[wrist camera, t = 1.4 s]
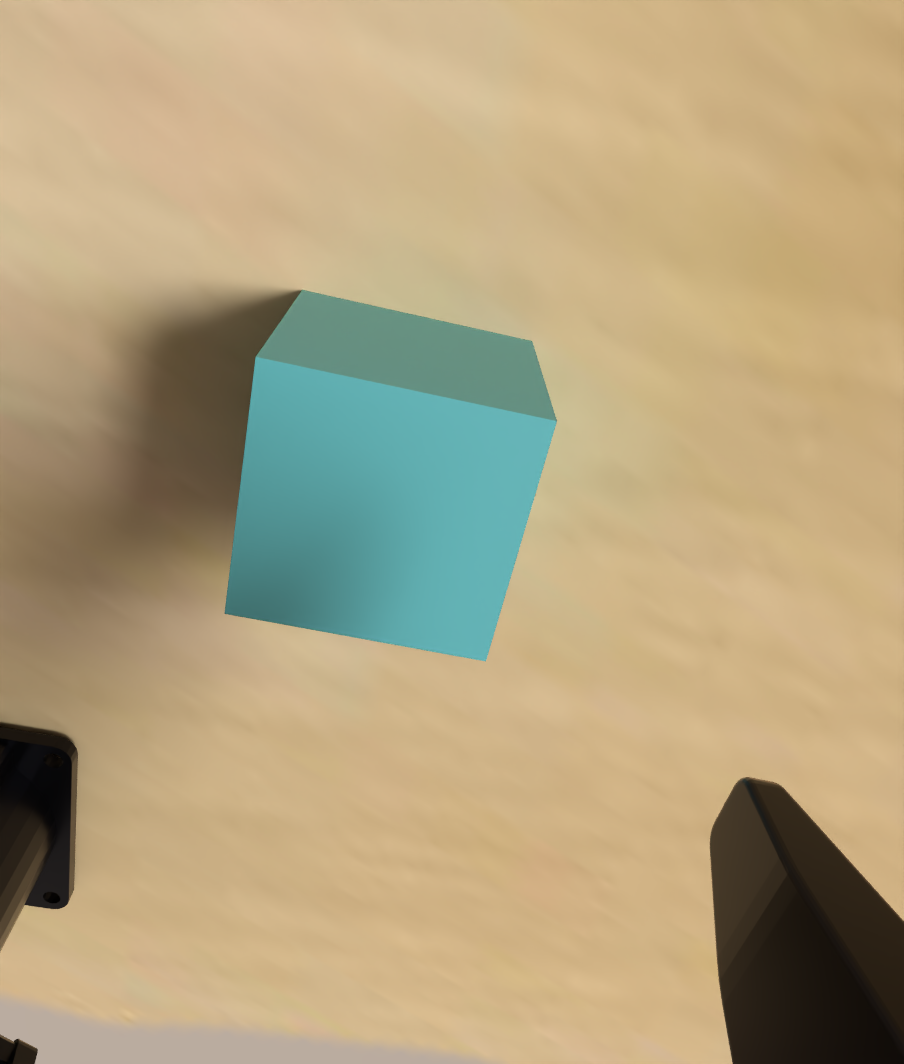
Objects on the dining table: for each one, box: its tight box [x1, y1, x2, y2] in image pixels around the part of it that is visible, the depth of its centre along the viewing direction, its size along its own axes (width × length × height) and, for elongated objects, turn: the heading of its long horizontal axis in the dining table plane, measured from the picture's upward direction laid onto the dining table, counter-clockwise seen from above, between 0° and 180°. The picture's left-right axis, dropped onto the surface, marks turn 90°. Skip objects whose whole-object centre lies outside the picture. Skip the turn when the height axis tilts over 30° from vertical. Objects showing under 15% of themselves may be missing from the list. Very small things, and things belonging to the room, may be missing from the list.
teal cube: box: [225, 290, 557, 661], centre depth 17 cm, size 5×5×5 cm
